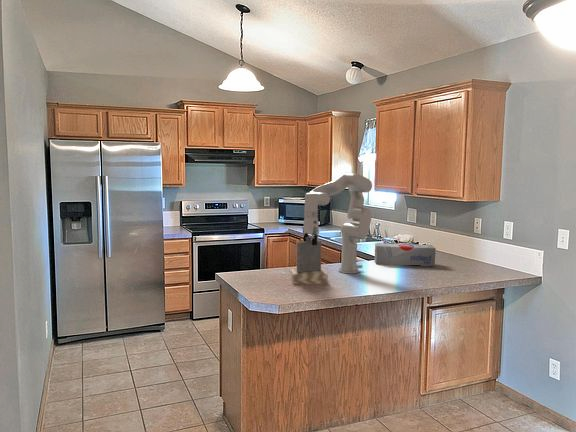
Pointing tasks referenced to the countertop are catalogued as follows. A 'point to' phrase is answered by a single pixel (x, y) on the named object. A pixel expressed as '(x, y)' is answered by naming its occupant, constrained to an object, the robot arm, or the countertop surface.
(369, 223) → the robot arm
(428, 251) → the soda pack
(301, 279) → the chevron striped box
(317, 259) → the hip flask
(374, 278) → the countertop surface
